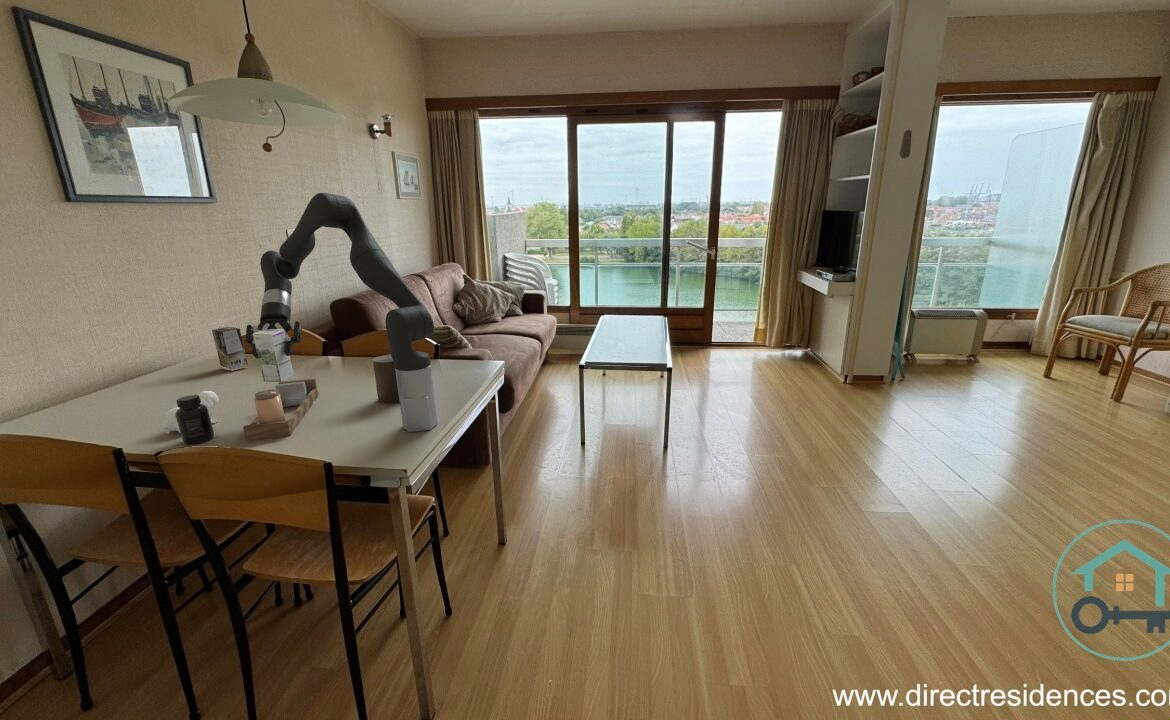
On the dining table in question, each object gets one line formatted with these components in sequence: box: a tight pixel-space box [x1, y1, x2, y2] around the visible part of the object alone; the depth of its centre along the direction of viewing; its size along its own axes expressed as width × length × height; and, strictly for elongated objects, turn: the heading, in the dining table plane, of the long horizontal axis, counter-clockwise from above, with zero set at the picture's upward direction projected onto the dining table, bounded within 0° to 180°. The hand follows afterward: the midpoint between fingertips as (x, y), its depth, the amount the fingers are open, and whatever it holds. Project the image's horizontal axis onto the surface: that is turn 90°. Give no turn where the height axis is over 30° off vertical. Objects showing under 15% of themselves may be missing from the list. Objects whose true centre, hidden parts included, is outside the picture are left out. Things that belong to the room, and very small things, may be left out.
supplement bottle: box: [175, 394, 215, 446], centre depth 130 cm, size 7×7×12 cm
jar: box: [253, 388, 286, 424], centre depth 135 cm, size 6×6×11 cm
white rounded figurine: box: [160, 390, 220, 435], centre depth 140 cm, size 9×8×15 cm
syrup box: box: [253, 329, 295, 383], centre depth 141 cm, size 6×6×14 cm
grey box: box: [274, 382, 307, 408], centre depth 156 cm, size 6×8×7 cm
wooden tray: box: [242, 378, 320, 442], centre depth 146 cm, size 32×10×6 cm, turn 15°
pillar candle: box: [372, 353, 400, 405], centre depth 156 cm, size 10×10×15 cm
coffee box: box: [211, 326, 249, 369], centre depth 194 cm, size 9×6×16 cm
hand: (272, 355), depth 140 cm, fingers closed on syrup box, 7 cm apart
